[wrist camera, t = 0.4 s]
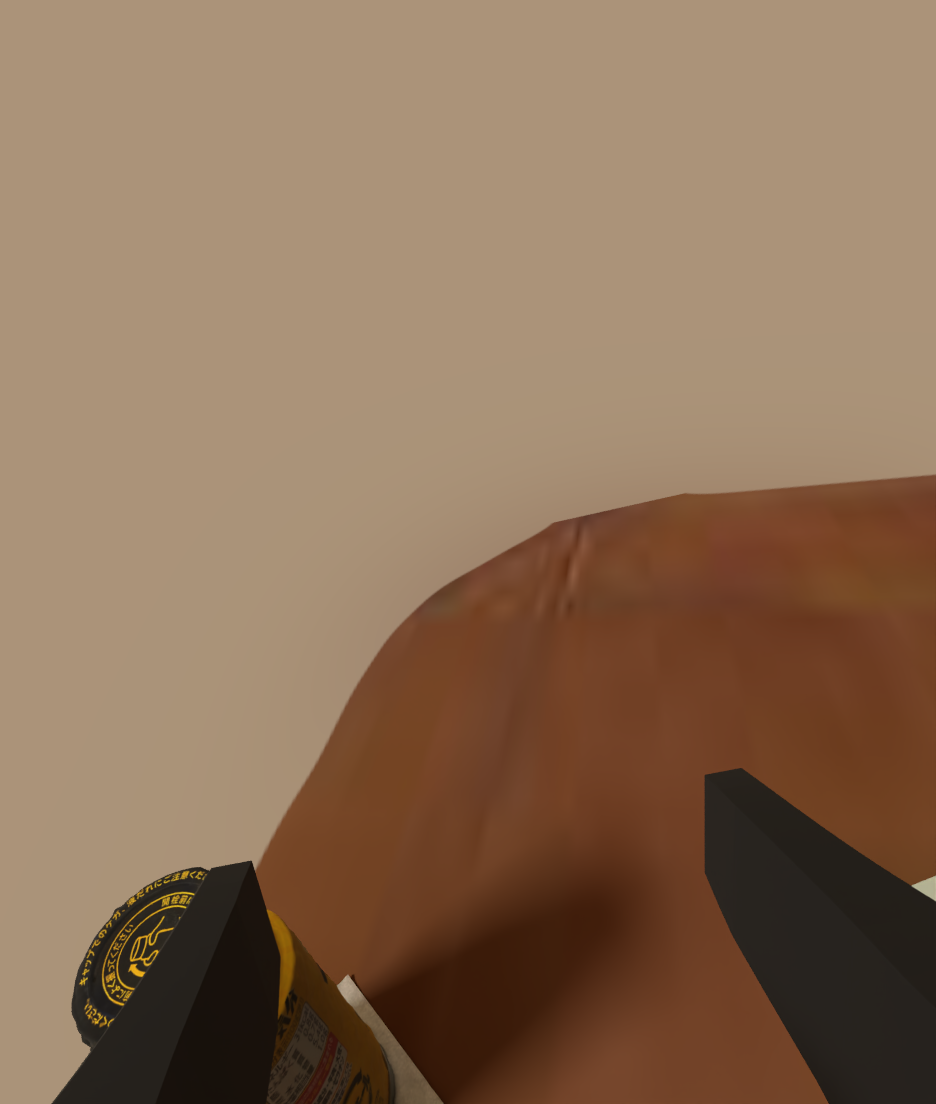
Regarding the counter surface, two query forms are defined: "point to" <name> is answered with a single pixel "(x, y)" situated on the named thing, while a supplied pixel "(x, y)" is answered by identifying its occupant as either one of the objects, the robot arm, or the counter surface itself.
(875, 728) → the counter surface
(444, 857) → the counter surface
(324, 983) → the condiment
